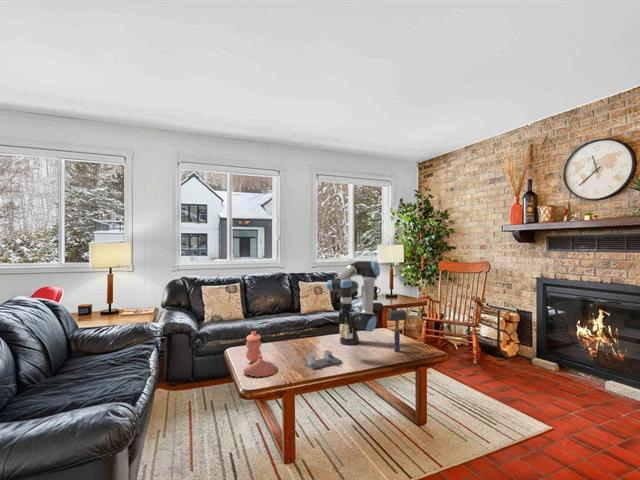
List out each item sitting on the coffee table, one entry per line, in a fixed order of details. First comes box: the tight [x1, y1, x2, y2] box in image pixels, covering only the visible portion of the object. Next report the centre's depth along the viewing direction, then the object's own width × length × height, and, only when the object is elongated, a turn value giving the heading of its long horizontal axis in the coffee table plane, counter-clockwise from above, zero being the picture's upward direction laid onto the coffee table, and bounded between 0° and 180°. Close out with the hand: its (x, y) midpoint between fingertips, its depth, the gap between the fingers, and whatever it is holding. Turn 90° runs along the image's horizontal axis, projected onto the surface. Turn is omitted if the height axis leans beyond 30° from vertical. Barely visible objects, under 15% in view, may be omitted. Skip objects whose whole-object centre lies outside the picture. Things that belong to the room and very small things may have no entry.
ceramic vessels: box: [243, 331, 279, 378], centre depth 220 cm, size 35×21×19 cm, turn 23°
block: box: [339, 324, 353, 339], centre depth 234 cm, size 8×5×8 cm, turn 32°
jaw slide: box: [323, 350, 335, 362], centre depth 224 cm, size 8×3×6 cm, turn 32°
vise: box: [304, 353, 343, 370], centre depth 224 cm, size 10×22×7 cm, turn 122°
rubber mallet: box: [387, 309, 408, 353], centre depth 247 cm, size 12×8×30 cm, turn 104°
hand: (346, 336), depth 234 cm, fingers closed on block, 8 cm apart
